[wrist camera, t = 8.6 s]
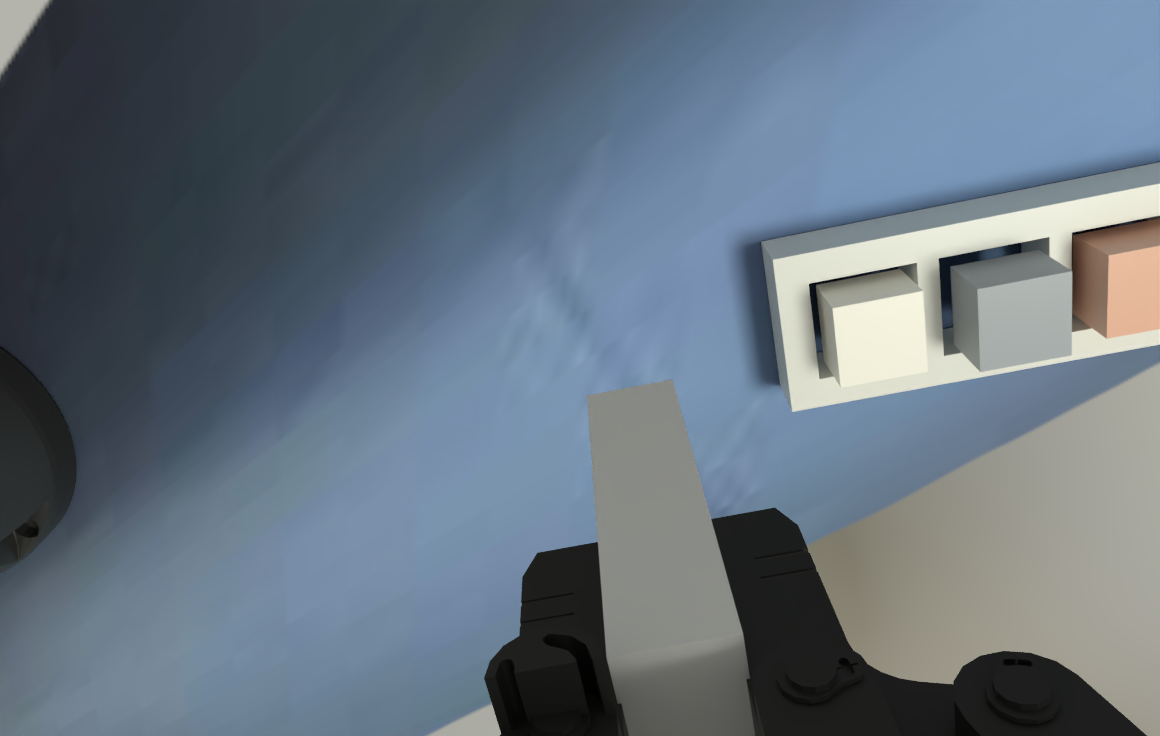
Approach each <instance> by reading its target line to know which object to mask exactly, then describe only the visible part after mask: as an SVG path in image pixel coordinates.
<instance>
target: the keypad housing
mask: <svg viewBox="0 0 1160 736" xmlns="http://www.w3.org/2000/svg"><path fill="white" fill-rule="evenodd" d="M1144 218H1147V221H1148V220H1153V219H1159V218H1160V162H1158V163H1153V164H1148V165H1143V166H1138V167H1133V168H1128V169H1123V170H1117V171H1112V172H1107V173H1102V174H1097V175H1092V176H1087V177H1082V178H1077V179H1072V180H1067V181H1062V182H1057V183H1052V184H1047V185H1042V186H1037V187H1032V188H1027V189H1022V190H1017V191H1012V192H1007V193H1002V194H997V195H992V196H987V197H982V198H977V199H972V200H967V201H962V202H957V203H952V204H947V205H942V206H937V207H932V208H927V209H922V210H917V211H912V212H907V213H901V214H896V215H891V216H886V217H881V218H876V219H871V220H866V221H861V222H856V223H851V224H846V225H841V226H836V227H831V228H826V229H821V230H816V231H811V232H806V233H801V234H796V235H791V236H786V237H781V238H776V239H771V240H766V241H761V245H762V253H763V260H764V268H765V275H766V283H767V290H768V298H769V305H770V313H771V320H772V328H773V335H774V343H775V350H776V358H777V365H778V373H779V380H780V387H781V389H782V391H783V393H784V395H785V397H786V399H787V402H788V404H789V406H790V408H791V410H792V412H794V411H799V410H805V409H810V408H816V407H821V406H827V405H832V404H837V403H843V402H848V401H854V400H859V399H865V398H870V397H876V396H881V395H886V394H892V393H897V392H903V391H908V390H914V389H919V388H925V387H930V386H935V385H941V384H946V383H952V382H957V381H963V380H968V379H974V378H979V377H985V376H990V375H995V374H1001V373H1006V372H1012V371H1017V370H1023V369H1028V368H1034V367H1039V366H1044V365H1050V364H1055V363H1061V362H1066V361H1072V360H1077V359H1083V358H1088V357H1094V356H1099V355H1104V354H1110V353H1115V352H1121V351H1126V350H1132V349H1137V348H1143V347H1148V346H1153V345H1159V344H1160V329H1157V330H1152V331H1146V332H1141V333H1135V334H1130V335H1125V336H1119V337H1114V338H1108V339H1106V338H1105V337H1104V336H1102V335H1101V334H1099V333H1098V332H1097V331H1095V330H1094V329H1093V328H1091V327H1090V326H1088V325H1087V324H1086V323H1084V322H1083V321H1082V320H1080V319H1079V318H1077V317H1076V316H1075V315H1073V314H1072V355H1071V356H1066V357H1060V358H1055V359H1049V360H1044V361H1038V362H1033V363H1028V364H1022V365H1017V366H1011V367H1006V368H1000V369H995V370H989V371H984V372H980V371H979V370H978V369H977V368H976V367H975V366H974V365H973V364H972V363H971V362H970V361H969V360H968V359H967V358H966V357H965V356H964V355H963V354H962V353H961V352H960V350H959V349H958V348H957V347H956V346H955V345H954V335H953V327H952V328H946V329H942V310H941V291H940V272H939V258H944V257H949V256H954V255H959V254H964V253H970V252H975V251H980V250H985V249H990V248H995V247H1000V246H1006V245H1011V244H1016V243H1021V253H1023V252H1028V251H1033V250H1040V251H1042V252H1043V253H1045V254H1046V255H1048V256H1049V257H1051V258H1053V259H1054V260H1056V261H1057V262H1059V263H1060V264H1062V265H1063V266H1065V267H1067V268H1068V269H1070V270H1071V271H1072V232H1078V231H1083V230H1088V229H1093V228H1098V227H1103V226H1108V225H1114V224H1119V223H1124V222H1129V221H1134V220H1139V219H1144ZM892 267H898V269H901V270H902V271H903V272H904V273H905V274H906V275H907V276H908V277H909V278H910V279H911V280H912V281H913V282H914V283H915V284H916V285H917V286H918V287H920V288H921V289H922V290H923V298H924V314H925V331H926V347H927V363H928V372H924V373H919V374H913V375H908V376H902V377H897V378H891V379H886V380H881V381H875V382H870V383H864V384H859V385H854V386H848V387H843V388H841V387H840V386H839V384H838V383H837V381H836V379H835V378H834V376H833V374H832V373H831V371H830V369H829V368H828V366H827V364H826V363H825V361H824V356H823V352H819V353H816V344H815V335H814V326H813V317H812V309H811V300H810V291H809V284H810V283H815V282H820V281H826V280H831V279H836V278H841V277H846V276H851V275H856V274H862V273H867V272H872V271H877V270H882V269H887V268H892Z"/></svg>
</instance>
